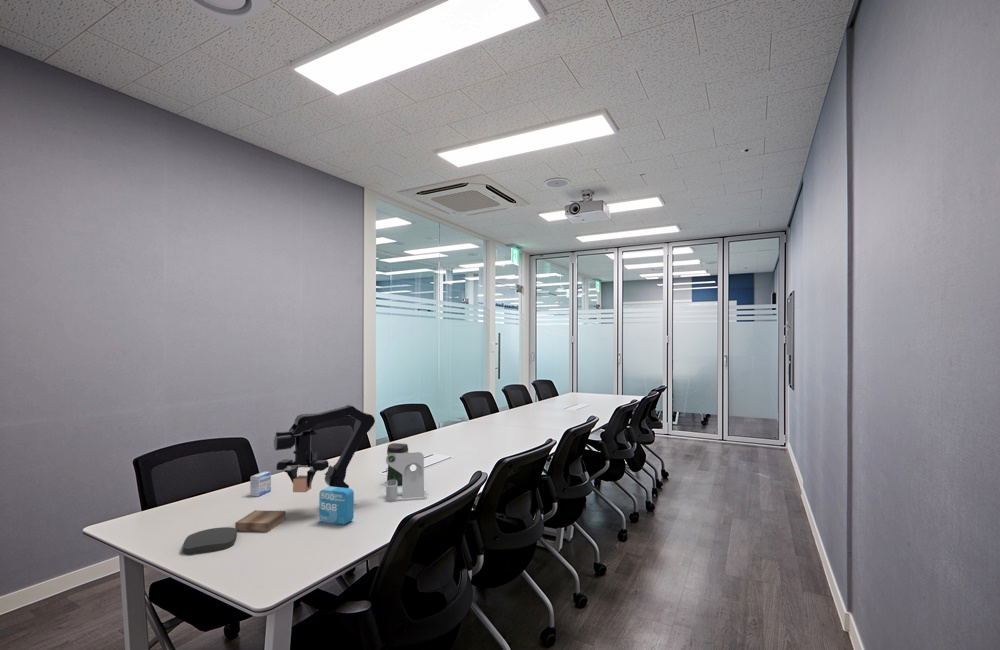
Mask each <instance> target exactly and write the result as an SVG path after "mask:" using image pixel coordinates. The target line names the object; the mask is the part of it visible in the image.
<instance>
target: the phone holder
mask: <svg viewBox="0 0 1000 650" xmlns="http://www.w3.org/2000/svg"><path fill="white" fill-rule="evenodd" d="M390 456H394V457H395V460H394V462H389V460H388V458H389V457H390ZM424 456H425V455H424V454H423V452H417V451H416V452H408V453H395V454H389V455H387V456H386V458H385V463H386V465H389V466H390V467H392V468H393V469H395V470H396V471H398V472H399V473H401V474H402V487H401V488H402V490H401V491H398V485H397V480H388V481H387V480H386V483H385V485H386V487H385V488H386V490H385V492H386V493H385V494H386V495H385V501H386V502H388V503H389V502H390V503H392V502H402V501H403V502H404V501H405V502H406V501H407V502H408V501H418V500H419V501H421V500H427V498H428V495H427V494H428V493H427V491H426V490H425V475H424V474H425V462H424V461H425V459H424V458H425V457H424ZM412 465H414V466H415V467H416V469H415V470H411V466H412Z"/></svg>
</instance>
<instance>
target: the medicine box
mask: <svg viewBox="0 0 1000 650" xmlns="http://www.w3.org/2000/svg"><path fill="white" fill-rule="evenodd" d="M249 485H250V486H249V495H250V497H261V496H263V494H264V495H266V494H267V493H270V492H271V490H272V472H271V471H261V472H259V473H256V474H254V475H251V476H250V484H249Z"/></svg>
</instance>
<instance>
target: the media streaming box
mask: <svg viewBox="0 0 1000 650" xmlns="http://www.w3.org/2000/svg"><path fill="white" fill-rule="evenodd" d="M237 536H238V531H237V529H236V528H235V527H231V526H230V527H229V526H225V527H224V526H222V527H214V528H208V529H203V530H199V531H197V532H193V533H192V534H189V535H188V536H187V537H186V538H185V539H184V541H183V544H182V554H184V555H187V556H191V555H198V554H204V553H211V552H217V551H222V550H227V549H229V548H232V547H233V546H234V545H235V543H236V541H237V538H238V537H237Z"/></svg>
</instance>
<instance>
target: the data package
mask: <svg viewBox="0 0 1000 650" xmlns="http://www.w3.org/2000/svg"><path fill="white" fill-rule="evenodd" d="M318 495H319V497H318V498H319V501H318V503H319V505H318V513H319V514H318V519H319V521H320V522H321V523H326V524H334V525H343V526H345V525H346V524H348V523H350V522H351V521H353V520H354V511H355V510H354V507H355V505H354V504H355V503H354V502H355V501H354V500H355V499H354V498H355V491H354V490H353V488H350V487H349V488H341V487H331V486H329V485H328V486H327V487H325V488H323V489H321V490H320V491H319V494H318Z"/></svg>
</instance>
